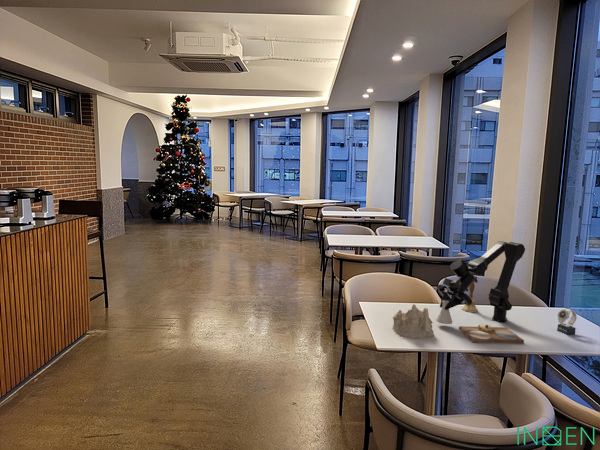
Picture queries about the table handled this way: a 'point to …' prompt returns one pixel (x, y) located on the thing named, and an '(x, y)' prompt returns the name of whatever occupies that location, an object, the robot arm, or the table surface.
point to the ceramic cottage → (413, 324)
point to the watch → (568, 327)
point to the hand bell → (472, 307)
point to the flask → (444, 314)
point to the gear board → (490, 334)
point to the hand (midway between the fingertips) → (442, 308)
